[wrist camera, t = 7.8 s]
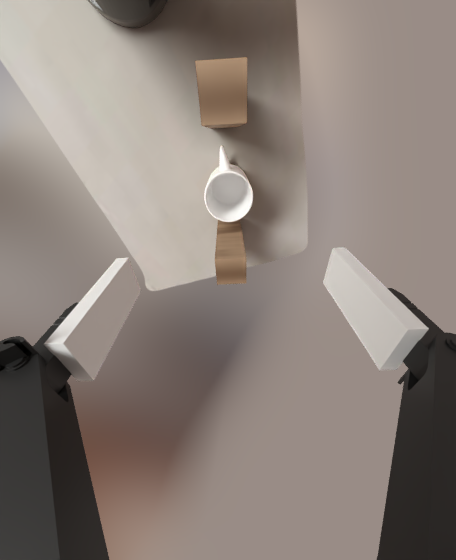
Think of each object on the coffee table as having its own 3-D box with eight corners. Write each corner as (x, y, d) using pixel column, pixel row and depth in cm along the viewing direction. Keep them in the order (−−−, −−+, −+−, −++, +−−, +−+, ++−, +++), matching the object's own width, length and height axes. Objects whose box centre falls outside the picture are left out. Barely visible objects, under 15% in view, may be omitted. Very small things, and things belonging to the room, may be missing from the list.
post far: (218, 217, 49) (214, 259, 33) (239, 216, 49) (246, 257, 32) (219, 236, 52) (217, 284, 36) (239, 235, 52) (246, 283, 35)
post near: (208, 93, 36) (195, 60, 20) (237, 91, 36) (247, 57, 20) (211, 128, 39) (201, 125, 23) (237, 126, 39) (246, 122, 23)
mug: (244, 140, 40) (249, 142, 31) (249, 202, 47) (254, 218, 38) (201, 147, 41) (194, 151, 32) (212, 208, 48) (209, 225, 39)
